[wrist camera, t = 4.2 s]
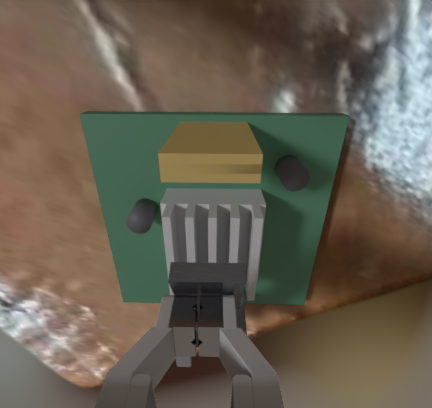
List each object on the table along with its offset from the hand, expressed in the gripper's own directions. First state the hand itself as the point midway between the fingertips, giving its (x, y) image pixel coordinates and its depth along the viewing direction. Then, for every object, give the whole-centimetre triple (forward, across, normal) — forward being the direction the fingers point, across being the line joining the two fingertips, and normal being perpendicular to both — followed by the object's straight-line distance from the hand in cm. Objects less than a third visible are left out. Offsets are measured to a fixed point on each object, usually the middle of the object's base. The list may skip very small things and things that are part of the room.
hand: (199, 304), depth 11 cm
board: (+13, -1, +4) cm, 14 cm away
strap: (+4, 0, +5) cm, 6 cm away
